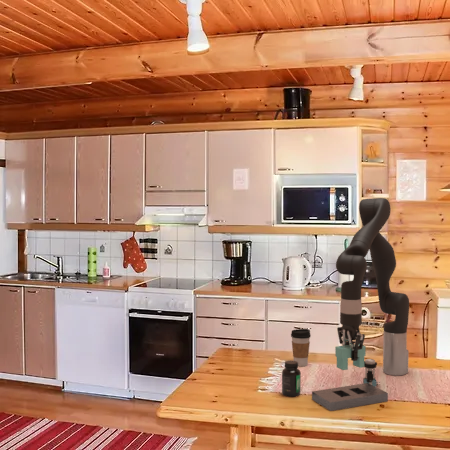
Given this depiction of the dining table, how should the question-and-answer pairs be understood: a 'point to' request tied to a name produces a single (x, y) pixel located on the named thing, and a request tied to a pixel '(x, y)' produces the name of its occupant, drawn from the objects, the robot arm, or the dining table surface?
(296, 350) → the coffee cup
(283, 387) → the supplement bottle
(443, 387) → the dining table surface
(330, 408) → the grey slotted board
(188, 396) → the dining table surface
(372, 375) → the push button
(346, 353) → the mint green notched block
